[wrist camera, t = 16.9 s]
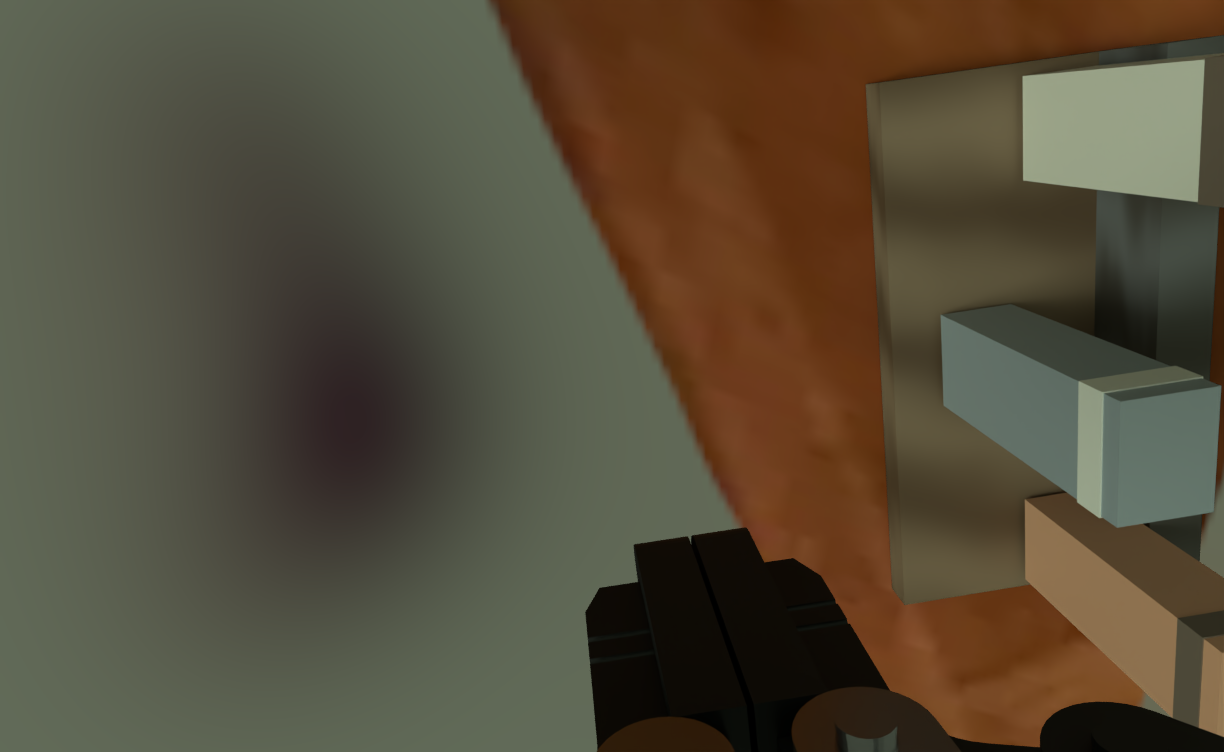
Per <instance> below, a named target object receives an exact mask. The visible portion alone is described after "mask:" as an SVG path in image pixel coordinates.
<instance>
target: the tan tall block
mask: <svg viewBox="0 0 1224 752" xmlns="http://www.w3.org/2000/svg"><path fill="white" fill-rule="evenodd" d="M1025 579H1026V580H1027V581H1028V582H1029V583H1030V584H1031V585H1032V586H1033V587H1034V588H1035V589H1036V590H1037V591H1038V592H1039V593H1041V594H1042V595H1043V596H1044V597H1045V598H1046V599H1047V600H1048V601H1049V602H1050V603H1051V604H1052V605H1053V606H1054V607H1055V608H1056V609H1057V610H1059V611H1060V612H1061V613H1062V614H1063V615H1064V616H1065V617H1066V618H1067V619H1068V620H1069V621H1070V622H1071V623H1072V624H1073V625H1074V626H1076V627H1077V628H1078V629H1079V630H1080V631H1081V632H1082V633H1083V634H1084V635H1085V636H1086V637H1087V638H1088V639H1089V640H1090V641H1091V642H1093V643H1094V644H1095V645H1096V646H1097V647H1098V648H1099V649H1100V650H1101V651H1102V652H1103V653H1104V654H1105V655H1106V656H1107V657H1108V658H1109V659H1111V660H1112V661H1113V662H1114V663H1115V664H1116V665H1117V666H1118V667H1119V668H1120V669H1121V670H1122V671H1123V672H1124V673H1125V674H1126V675H1128V676H1129V677H1130V678H1131V679H1132V680H1133V681H1134V682H1135V683H1136V684H1137V685H1138V686H1139V687H1140V688H1141V689H1142V690H1143V691H1144V692H1146V693H1147V694H1148V695H1149V696H1150V697H1151V698H1152V699H1153V700H1154V701H1155V702H1156V703H1157V704H1158V705H1159V706H1160V707H1162V708H1163V709H1164V710H1165V711H1166V712H1167V713H1168V714H1169V715H1170V716H1171V717H1172V718H1174V719H1176V720H1179V721H1182V722H1184V723H1187V724H1190V725H1193V726H1195V727H1198V728H1201V729H1203V730H1206V731H1209V732H1212V733H1214V734H1217V735H1220V736H1223V737H1224V578H1223V577H1221V576H1220V575H1218V574H1217V573H1216V572H1214V571H1212V570H1211V569H1210V568H1208V567H1207V566H1205V565H1204V564H1202V563H1201V562H1199V561H1198V560H1196V559H1195V558H1193V557H1192V556H1190V555H1189V554H1187V553H1186V552H1184V551H1183V550H1181V549H1180V548H1178V547H1177V546H1175V545H1174V544H1172V543H1171V542H1169V541H1168V540H1166V539H1165V538H1163V537H1162V536H1160V535H1159V534H1157V533H1156V532H1154V531H1153V530H1151V529H1150V528H1148V527H1147V526H1145V525H1144V524H1137V525H1131V526H1125V527H1119V528H1117V527H1115V526H1114V525H1112V524H1111V523H1110V522H1108V521H1107V520H1105V519H1104V518H1098V517H1097V516H1096V515H1094V514H1093V513H1091V512H1090V511H1089V510H1087V509H1086V508H1084V507H1083V506H1082V505H1080V504H1079V503H1077V499H1076V498H1074V497H1073V496H1071V495H1070V494H1068V493H1061V494H1055V495H1049V496H1043V497H1036V498H1030V499H1025Z"/></svg>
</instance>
